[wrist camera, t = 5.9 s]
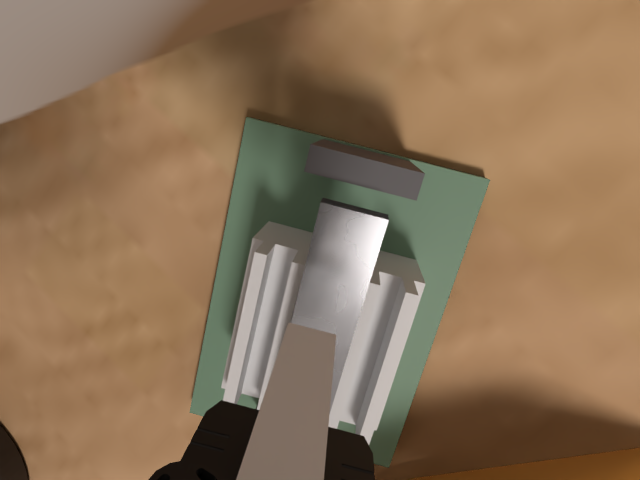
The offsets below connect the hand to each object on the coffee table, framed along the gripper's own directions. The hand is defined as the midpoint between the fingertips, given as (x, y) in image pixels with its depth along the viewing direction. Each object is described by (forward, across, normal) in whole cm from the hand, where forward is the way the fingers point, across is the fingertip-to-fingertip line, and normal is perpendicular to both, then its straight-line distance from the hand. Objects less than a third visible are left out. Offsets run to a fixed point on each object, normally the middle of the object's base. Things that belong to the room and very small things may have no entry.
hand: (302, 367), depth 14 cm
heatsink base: (+14, +1, -4) cm, 15 cm away
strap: (+7, +1, -3) cm, 7 cm away
